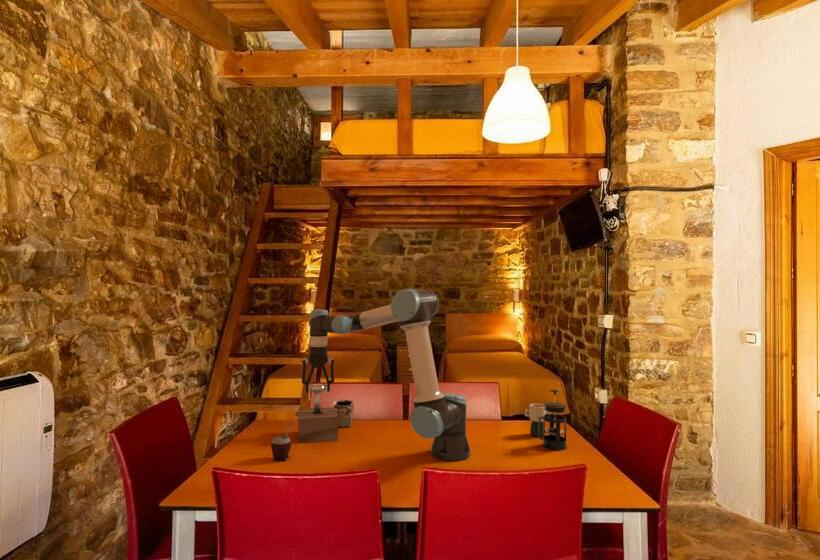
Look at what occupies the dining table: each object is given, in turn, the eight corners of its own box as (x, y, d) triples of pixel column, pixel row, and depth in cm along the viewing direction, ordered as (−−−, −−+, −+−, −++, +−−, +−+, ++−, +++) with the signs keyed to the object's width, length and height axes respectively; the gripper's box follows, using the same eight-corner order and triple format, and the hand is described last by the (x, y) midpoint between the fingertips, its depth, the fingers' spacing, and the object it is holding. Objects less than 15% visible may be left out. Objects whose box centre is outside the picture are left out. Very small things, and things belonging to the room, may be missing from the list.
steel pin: (325, 413, 204) (325, 386, 204) (310, 414, 203) (310, 387, 203) (324, 409, 210) (325, 383, 210) (309, 410, 209) (310, 384, 209)
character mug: (549, 433, 213) (549, 404, 213) (551, 438, 206) (551, 408, 206) (524, 432, 215) (524, 402, 215) (525, 436, 208) (525, 406, 208)
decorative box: (322, 427, 218) (322, 406, 219) (331, 416, 238) (332, 396, 239) (350, 428, 218) (351, 407, 218) (358, 416, 238) (358, 397, 238)
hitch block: (337, 440, 200) (338, 416, 200) (298, 443, 196) (298, 418, 197) (334, 429, 216) (335, 407, 216) (298, 431, 212) (298, 409, 212)
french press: (564, 442, 200) (564, 387, 201) (571, 450, 191) (571, 392, 191) (536, 442, 201) (536, 387, 201) (541, 450, 191) (542, 392, 192)
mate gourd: (267, 458, 178) (268, 418, 179) (286, 453, 184) (287, 414, 184) (277, 464, 173) (278, 422, 173) (296, 459, 179) (297, 418, 179)
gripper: (340, 344, 213) (339, 396, 212) (295, 345, 208) (294, 398, 208) (342, 346, 205) (341, 400, 205) (295, 347, 201) (294, 402, 201)
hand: (317, 399), depth 206 cm, fingers closed on steel pin, 6 cm apart
